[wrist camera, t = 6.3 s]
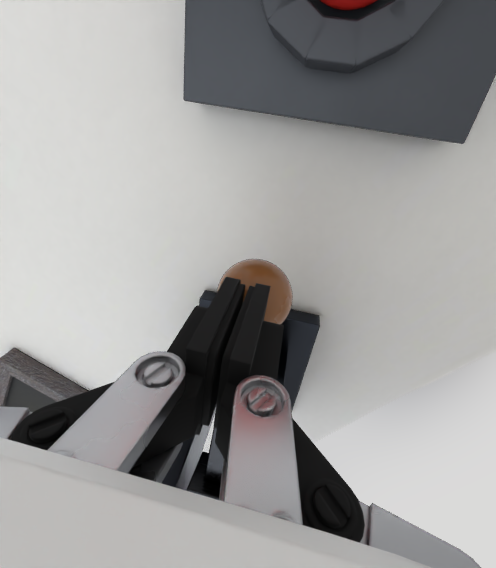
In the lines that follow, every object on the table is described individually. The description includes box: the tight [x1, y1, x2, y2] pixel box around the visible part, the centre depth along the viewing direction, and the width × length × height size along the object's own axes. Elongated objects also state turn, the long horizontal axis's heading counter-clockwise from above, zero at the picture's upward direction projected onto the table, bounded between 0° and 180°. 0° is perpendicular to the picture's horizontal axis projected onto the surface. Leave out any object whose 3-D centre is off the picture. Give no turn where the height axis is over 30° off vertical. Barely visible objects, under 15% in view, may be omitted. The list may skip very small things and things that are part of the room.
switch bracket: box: [161, 290, 320, 491], centre depth 17 cm, size 10×8×12 cm
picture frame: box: [0, 348, 87, 412], centre depth 31 cm, size 13×2×18 cm
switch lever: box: [187, 259, 293, 500], centre depth 13 cm, size 13×3×3 cm, turn 172°
